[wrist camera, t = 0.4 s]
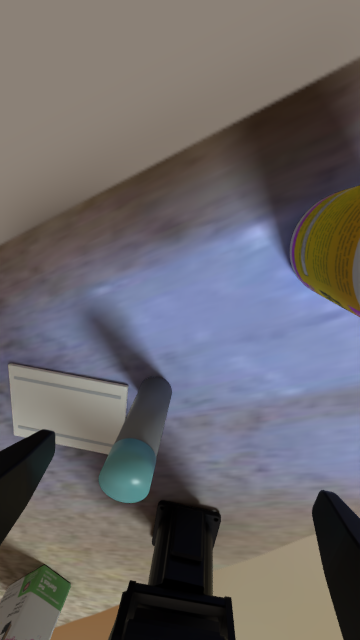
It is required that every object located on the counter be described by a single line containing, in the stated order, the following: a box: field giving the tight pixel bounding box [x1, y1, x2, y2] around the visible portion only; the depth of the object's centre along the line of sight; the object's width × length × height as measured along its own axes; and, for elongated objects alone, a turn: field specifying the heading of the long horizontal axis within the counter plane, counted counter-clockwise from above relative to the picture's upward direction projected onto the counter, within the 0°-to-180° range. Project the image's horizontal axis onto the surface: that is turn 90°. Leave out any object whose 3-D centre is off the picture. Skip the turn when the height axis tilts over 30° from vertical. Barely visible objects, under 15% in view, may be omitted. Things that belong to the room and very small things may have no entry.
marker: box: [99, 377, 172, 503], centre depth 19 cm, size 3×3×9 cm
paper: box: [8, 363, 128, 455], centre depth 25 cm, size 8×11×1 cm
